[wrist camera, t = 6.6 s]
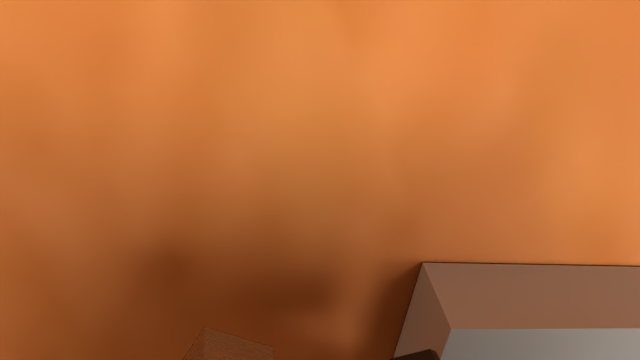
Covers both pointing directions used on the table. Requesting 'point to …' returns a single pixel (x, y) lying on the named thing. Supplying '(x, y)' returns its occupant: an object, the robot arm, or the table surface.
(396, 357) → the robot arm
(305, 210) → the table surface
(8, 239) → the table surface
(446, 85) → the table surface
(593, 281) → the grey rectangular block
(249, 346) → the grey t-handle
